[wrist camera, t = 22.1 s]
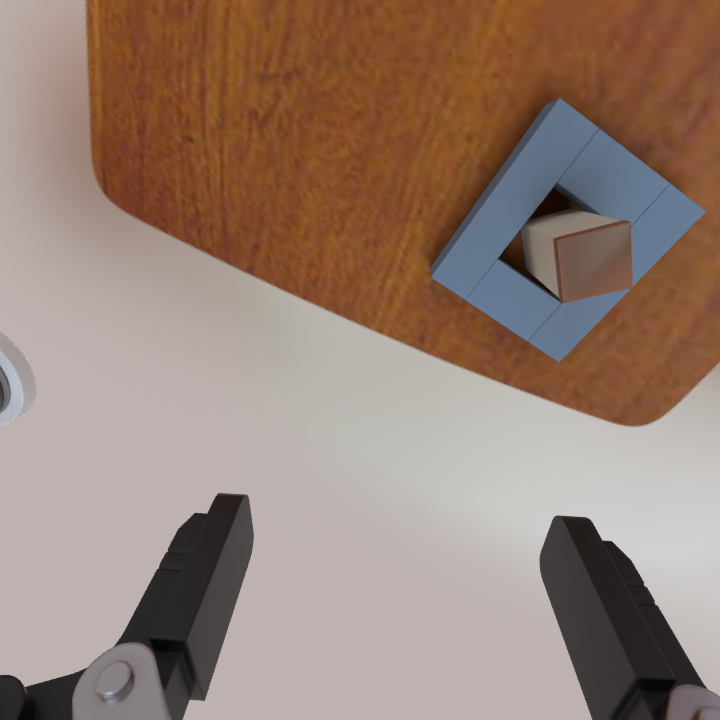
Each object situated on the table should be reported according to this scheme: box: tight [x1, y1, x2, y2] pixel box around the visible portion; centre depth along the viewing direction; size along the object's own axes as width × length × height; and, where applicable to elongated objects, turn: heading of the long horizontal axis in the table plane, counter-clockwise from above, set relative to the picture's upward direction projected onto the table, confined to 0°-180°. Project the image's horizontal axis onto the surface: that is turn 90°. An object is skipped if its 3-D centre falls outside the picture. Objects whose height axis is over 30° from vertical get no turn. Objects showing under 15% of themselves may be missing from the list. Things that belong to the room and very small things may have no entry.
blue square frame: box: [430, 98, 705, 362], centre depth 29 cm, size 13×12×3 cm
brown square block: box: [520, 208, 633, 303], centre depth 27 cm, size 4×4×9 cm
